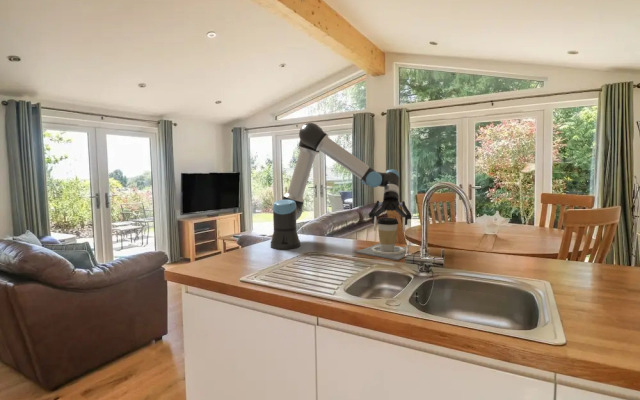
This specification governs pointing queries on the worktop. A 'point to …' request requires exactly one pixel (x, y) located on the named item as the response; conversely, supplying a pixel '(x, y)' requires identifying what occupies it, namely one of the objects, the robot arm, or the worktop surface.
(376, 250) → the slate board
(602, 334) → the worktop surface
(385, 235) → the coffee cup
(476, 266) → the worktop surface
